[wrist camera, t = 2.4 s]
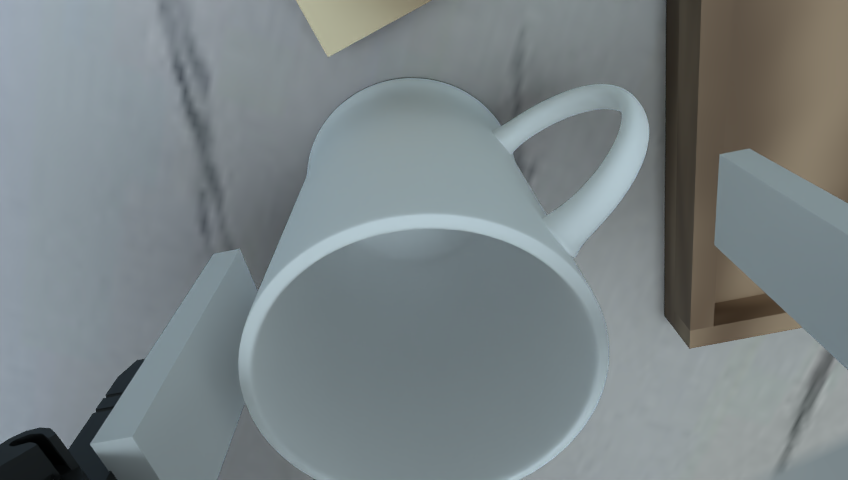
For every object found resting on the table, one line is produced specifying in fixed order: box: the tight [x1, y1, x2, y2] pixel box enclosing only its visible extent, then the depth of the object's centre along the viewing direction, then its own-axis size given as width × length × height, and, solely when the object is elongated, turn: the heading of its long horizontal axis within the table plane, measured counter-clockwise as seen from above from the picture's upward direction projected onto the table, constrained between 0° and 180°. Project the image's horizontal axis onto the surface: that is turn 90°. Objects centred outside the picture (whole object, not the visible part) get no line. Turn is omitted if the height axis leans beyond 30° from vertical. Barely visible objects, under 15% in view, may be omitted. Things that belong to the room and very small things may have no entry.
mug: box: [238, 78, 649, 480], centre depth 17 cm, size 12×8×12 cm
